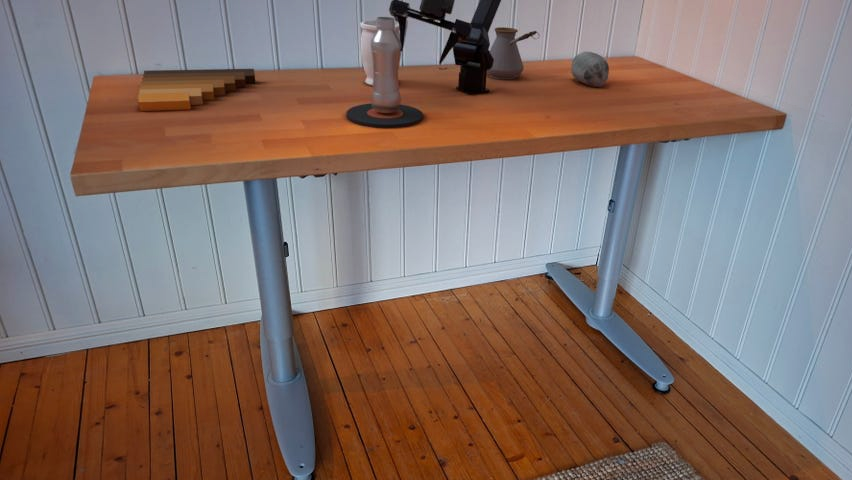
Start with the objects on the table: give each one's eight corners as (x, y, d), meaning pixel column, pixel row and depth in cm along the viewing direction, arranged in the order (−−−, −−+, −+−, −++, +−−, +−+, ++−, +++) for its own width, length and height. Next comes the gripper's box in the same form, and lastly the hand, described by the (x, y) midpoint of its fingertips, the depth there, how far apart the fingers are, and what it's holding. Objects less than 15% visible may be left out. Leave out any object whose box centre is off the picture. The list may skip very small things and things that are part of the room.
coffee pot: (475, 72, 195) (478, 18, 188) (509, 70, 200) (514, 17, 193) (512, 91, 179) (517, 32, 172) (549, 88, 184) (555, 30, 177)
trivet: (398, 103, 163) (398, 99, 162) (437, 122, 151) (437, 118, 150) (333, 111, 153) (333, 107, 153) (369, 132, 142) (369, 127, 141)
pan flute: (254, 80, 173) (146, 83, 165) (253, 67, 171) (144, 68, 163) (262, 107, 153) (140, 111, 144) (261, 92, 151) (137, 96, 143)
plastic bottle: (381, 106, 156) (380, 14, 146) (406, 111, 153) (407, 18, 144) (365, 113, 150) (363, 17, 141) (390, 118, 148) (390, 22, 138)
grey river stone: (620, 77, 186) (606, 43, 183) (589, 93, 186) (575, 59, 183) (603, 78, 199) (590, 46, 196) (575, 93, 199) (561, 61, 196)
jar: (394, 90, 173) (394, 28, 166) (355, 85, 175) (353, 24, 167) (406, 80, 182) (406, 22, 175) (369, 76, 184) (368, 18, 177)
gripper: (397, -36, 144) (377, 37, 146) (481, -8, 146) (460, 64, 148) (400, -21, 155) (382, 47, 157) (478, 5, 157) (459, 71, 159)
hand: (420, 57), depth 155 cm, fingers open, 9 cm apart
